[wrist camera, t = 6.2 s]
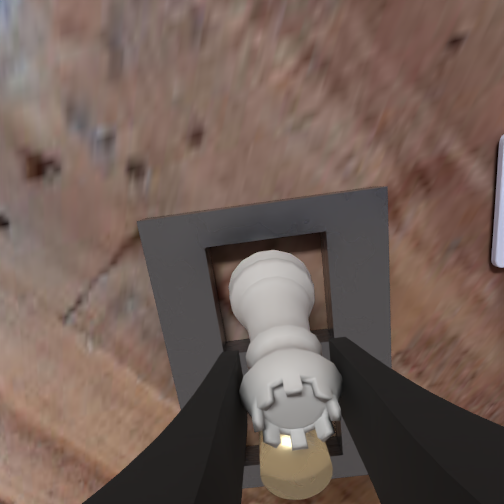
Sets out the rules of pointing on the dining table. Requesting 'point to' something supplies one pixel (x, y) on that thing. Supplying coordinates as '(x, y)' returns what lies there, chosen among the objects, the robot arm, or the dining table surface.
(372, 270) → the bolt plate
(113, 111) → the dining table surface
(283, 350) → the rook chess piece
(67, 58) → the dining table surface
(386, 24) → the dining table surface
